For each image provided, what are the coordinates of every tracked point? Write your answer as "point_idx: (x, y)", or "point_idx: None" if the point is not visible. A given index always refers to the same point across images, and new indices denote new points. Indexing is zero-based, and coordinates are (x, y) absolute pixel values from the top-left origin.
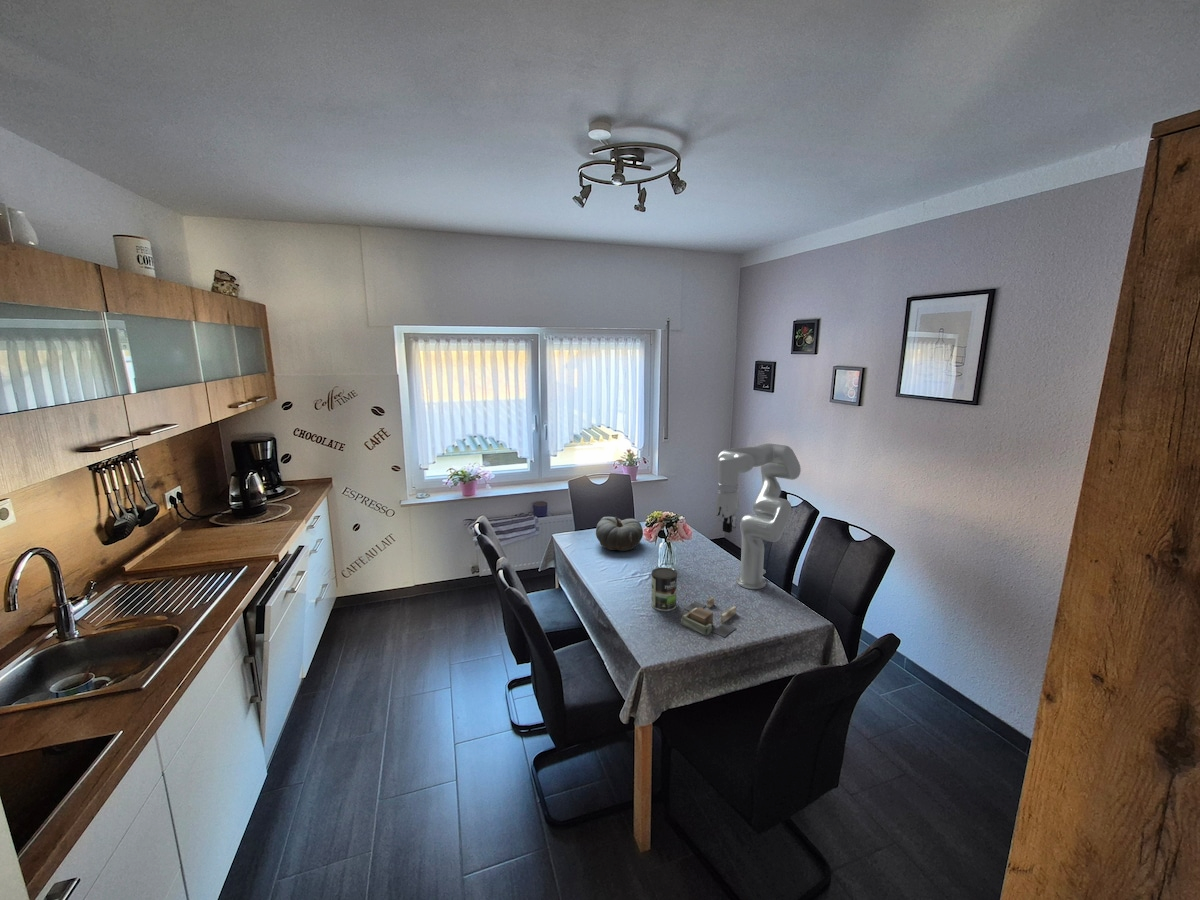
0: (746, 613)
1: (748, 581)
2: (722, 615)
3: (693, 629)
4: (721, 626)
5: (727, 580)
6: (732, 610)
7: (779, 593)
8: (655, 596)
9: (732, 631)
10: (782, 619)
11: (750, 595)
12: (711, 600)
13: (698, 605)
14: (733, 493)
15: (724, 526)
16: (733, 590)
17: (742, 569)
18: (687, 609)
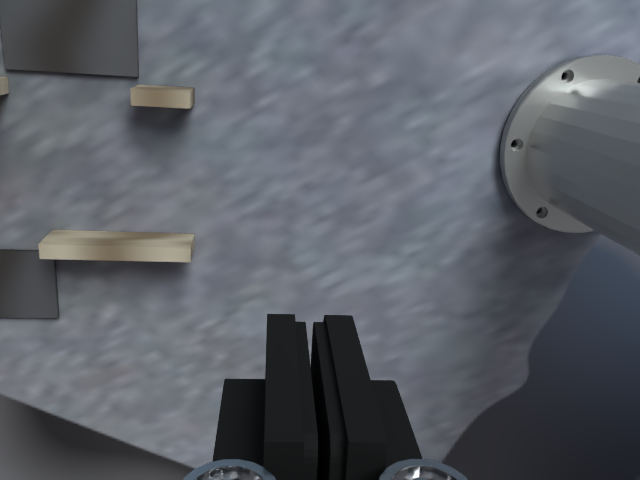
0: (236, 284)
1: (536, 166)
2: (40, 252)
3: None
4: (10, 258)
5: (537, 10)
6: (147, 258)
7: (545, 313)
8: None
9: (21, 316)
10: None
11: (434, 212)
12: (156, 106)
13: (103, 36)
14: None
15: (218, 445)
16: (432, 108)
17: (586, 127)
18: (3, 6)
